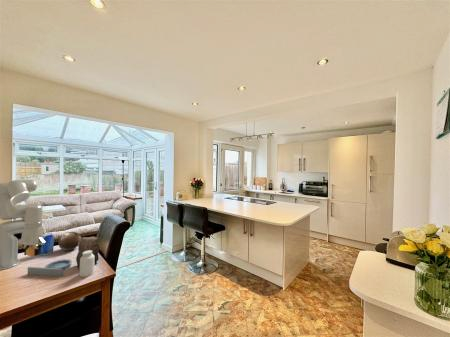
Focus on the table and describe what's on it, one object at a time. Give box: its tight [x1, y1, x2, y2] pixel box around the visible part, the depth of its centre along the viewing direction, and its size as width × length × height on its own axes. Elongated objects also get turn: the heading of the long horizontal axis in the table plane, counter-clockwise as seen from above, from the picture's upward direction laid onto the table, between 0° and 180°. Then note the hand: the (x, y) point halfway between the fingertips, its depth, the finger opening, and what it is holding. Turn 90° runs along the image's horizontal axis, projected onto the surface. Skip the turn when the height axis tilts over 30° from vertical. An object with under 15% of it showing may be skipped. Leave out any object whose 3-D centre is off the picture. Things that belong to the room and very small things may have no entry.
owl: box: [75, 235, 100, 271], centre depth 137 cm, size 13×13×20 cm
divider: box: [27, 266, 64, 278], centre depth 123 cm, size 24×1×4 cm, turn 86°
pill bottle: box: [79, 250, 95, 278], centre depth 125 cm, size 8×8×15 cm
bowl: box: [43, 259, 73, 271], centre depth 132 cm, size 14×14×2 cm
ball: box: [25, 245, 36, 257], centre depth 115 cm, size 6×6×6 cm
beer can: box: [39, 232, 55, 256], centre depth 153 cm, size 8×8×16 cm
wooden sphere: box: [58, 231, 82, 251], centre depth 161 cm, size 15×15×15 cm
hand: (32, 254), depth 115 cm, fingers closed on ball, 5 cm apart
